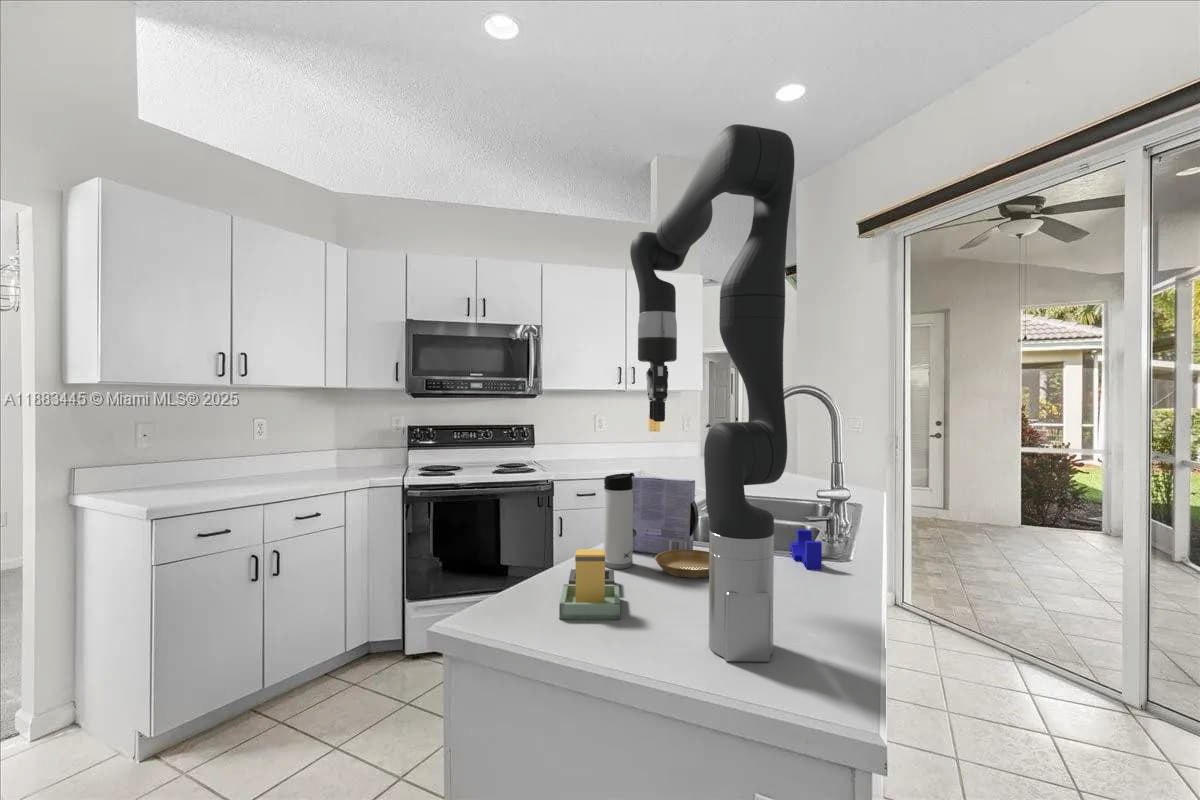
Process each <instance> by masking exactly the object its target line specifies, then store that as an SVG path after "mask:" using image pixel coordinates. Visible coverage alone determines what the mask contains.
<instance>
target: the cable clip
mask: <svg viewBox="0 0 1200 800" xmlns="http://www.w3.org/2000/svg"><path fill="white" fill-rule="evenodd" d="M822 543H823V542H821V541H820V540H813V535H812V530H811V529H800V528H798V529H796V541H790V542H789V554H790V555H791V554H792V556H791V558H792V557H793V558H792V559H793V561H794V560H795V561H794V562H801V561H802V562H801V563H802V565H803V564H804V565H803V566H804V568H805V569H806V570H807V571H808V570H811V571H822V563H823V561H822V559H823V557H822V555H823V554H822V550H823V549H822ZM790 552H792V553H790Z"/></svg>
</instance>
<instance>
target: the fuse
mask: <svg viewBox="0 0 1200 800" xmlns="http://www.w3.org/2000/svg"><path fill="white" fill-rule="evenodd" d="M574 557H575V558H574V559H575V560H574V562H575V569H576V603H605V570H606V566H605V550H604V549H595V548H594V549H590V548H589V549H587V548H586V549H576V551H575V556H574Z"/></svg>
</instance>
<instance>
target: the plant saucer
mask: <svg viewBox="0 0 1200 800" xmlns="http://www.w3.org/2000/svg"><path fill="white" fill-rule="evenodd" d="M654 560H655V562H656V563H657V564H658V565H659V567H660V568H661V569H662V570H663V571H664V572H665V573H667V574H668V573H669V574H668V575H671V574H672V575H671V576H674V575H676V576H675V577H678V576H680V578H684V577H691V578H690V579H700V578H699V577H704V578H708V577H707V576H709V551H707V550H706V551H705V550H699V549H693V550H670V551H665V552H662V553H659V554H655V558H654ZM680 567H681V568H680ZM683 567H685V568H686V567H688V568H689V567H691V568H692V567H694V568H696V567H697V568H699V567H700V568H699V569H698V570H691V568H690V569H688V568H687V569H685V568H683ZM702 567H703V568H708V569H703V568H702ZM682 568H683V569H682ZM694 568H693V569H694ZM697 568H696V569H697ZM701 568H702V569H701ZM700 569H701V570H700Z"/></svg>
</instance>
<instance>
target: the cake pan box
mask: <svg viewBox="0 0 1200 800" xmlns="http://www.w3.org/2000/svg"><path fill="white" fill-rule="evenodd" d="M632 482H633V484H632V486H633V491H632V492H633V552H639V553H645V554H653V555H654V554H655V555H658V554H659V553H662V552H665V551H670V550H694V534H695V531H696V530H697V527H698V525H699V509H698V506H697V503H696V500H695V499H696V498H695V497H696V495H695V493H696V480H695V479H686V478H685V479H683V478H673V477H664V476H663V477H660V476H648V475H636V474H634V477H633V476H632Z"/></svg>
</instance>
